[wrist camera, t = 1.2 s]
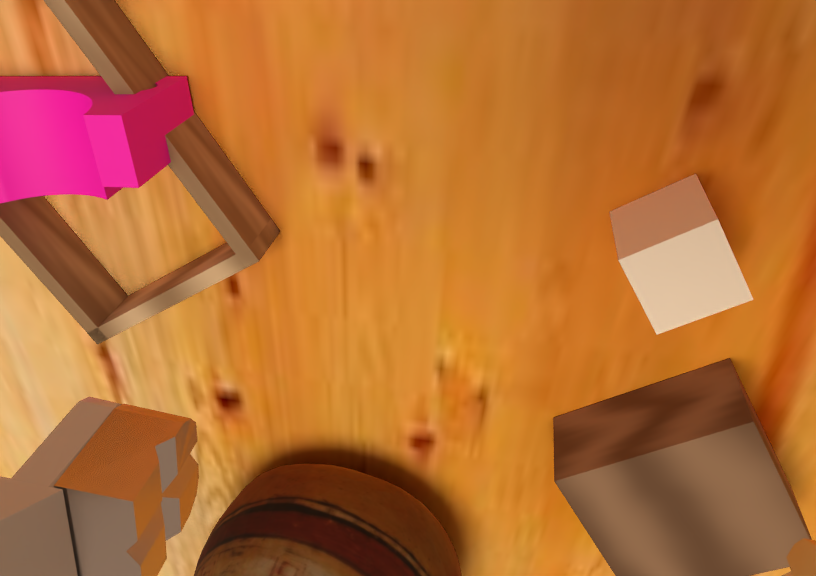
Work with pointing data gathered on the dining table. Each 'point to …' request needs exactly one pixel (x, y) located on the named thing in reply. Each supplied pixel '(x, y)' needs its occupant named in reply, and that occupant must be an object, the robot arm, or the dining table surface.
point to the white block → (677, 256)
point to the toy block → (84, 134)
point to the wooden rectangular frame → (190, 160)
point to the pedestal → (679, 479)
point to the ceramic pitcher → (326, 528)
